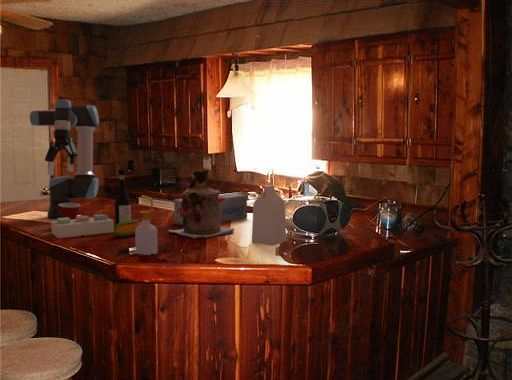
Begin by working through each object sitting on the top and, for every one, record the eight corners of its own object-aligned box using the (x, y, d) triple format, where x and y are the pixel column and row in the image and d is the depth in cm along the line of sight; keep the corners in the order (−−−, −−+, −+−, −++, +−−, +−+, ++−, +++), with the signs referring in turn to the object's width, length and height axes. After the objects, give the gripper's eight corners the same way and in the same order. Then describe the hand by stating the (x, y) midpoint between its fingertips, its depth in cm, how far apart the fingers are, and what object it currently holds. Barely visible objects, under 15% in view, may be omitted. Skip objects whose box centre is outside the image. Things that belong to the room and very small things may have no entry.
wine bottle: (134, 225, 299) (132, 169, 295) (121, 228, 293) (119, 170, 289) (125, 223, 304) (123, 168, 300) (112, 226, 298) (110, 169, 295)
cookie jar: (205, 226, 298) (204, 165, 294) (236, 233, 281) (236, 168, 277) (166, 233, 281) (165, 168, 277) (197, 240, 264) (196, 172, 260)
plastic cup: (74, 228, 290) (73, 205, 289) (55, 228, 293) (54, 205, 291) (85, 225, 301) (84, 202, 299) (66, 224, 303) (65, 202, 302)
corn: (109, 221, 270) (143, 215, 285) (109, 236, 272) (143, 230, 287) (119, 224, 266) (152, 218, 281) (118, 239, 267) (152, 233, 282)
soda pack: (235, 216, 331) (235, 192, 329) (248, 219, 320) (248, 194, 318) (173, 223, 307) (172, 198, 305) (185, 227, 296) (184, 201, 295)
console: (51, 233, 279) (51, 220, 278) (105, 227, 293) (105, 215, 292) (58, 238, 268) (57, 225, 267) (113, 232, 282) (113, 219, 281)
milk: (273, 245, 253) (273, 188, 249) (251, 242, 259) (251, 186, 255) (286, 241, 263) (286, 185, 259) (265, 238, 269) (265, 183, 265)
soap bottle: (137, 251, 243) (135, 194, 239) (158, 250, 243) (157, 194, 240) (134, 256, 234) (132, 197, 231) (156, 255, 234) (155, 196, 231)
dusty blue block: (94, 224, 286) (93, 215, 285) (104, 223, 288) (103, 214, 288) (97, 226, 281) (96, 216, 281) (107, 225, 284) (107, 215, 283)
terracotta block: (76, 226, 281) (75, 216, 280) (86, 225, 284) (86, 215, 283) (78, 228, 277) (78, 218, 276) (89, 227, 279) (89, 217, 279)
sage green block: (57, 228, 276) (56, 218, 276) (68, 227, 279) (67, 217, 278) (59, 230, 272) (59, 220, 271) (70, 229, 275) (70, 218, 274)
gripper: (38, 133, 280) (36, 174, 276) (74, 124, 268) (72, 168, 264) (50, 136, 287) (49, 177, 283) (86, 128, 274) (84, 170, 270)
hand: (60, 173), depth 273 cm, fingers open, 13 cm apart
